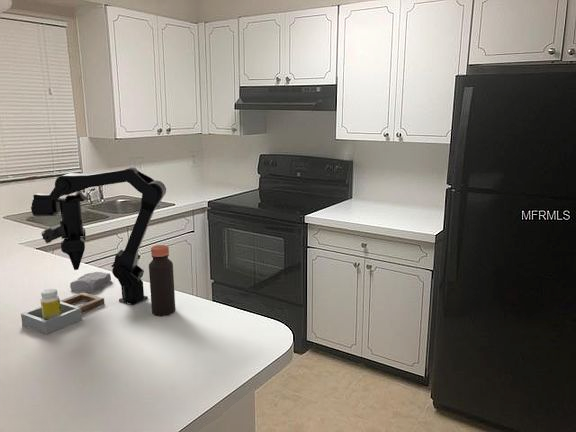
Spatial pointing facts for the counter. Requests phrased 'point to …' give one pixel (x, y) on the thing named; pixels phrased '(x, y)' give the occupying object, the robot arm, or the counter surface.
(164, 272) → the vinegar
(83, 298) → the holder ring
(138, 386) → the counter surface
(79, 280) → the stone block
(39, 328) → the tray
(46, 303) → the supplement bottle
